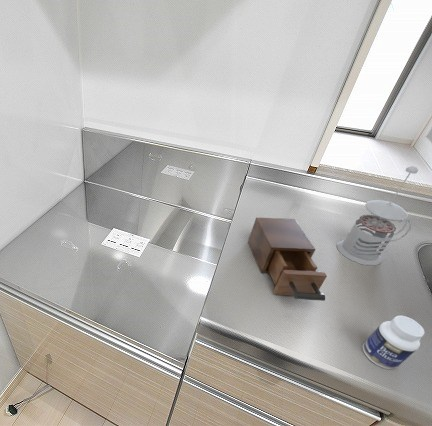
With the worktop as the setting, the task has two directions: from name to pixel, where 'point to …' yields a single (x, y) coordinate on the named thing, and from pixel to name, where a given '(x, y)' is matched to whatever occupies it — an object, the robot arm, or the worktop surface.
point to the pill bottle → (393, 342)
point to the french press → (367, 244)
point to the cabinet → (276, 239)
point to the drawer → (296, 275)
